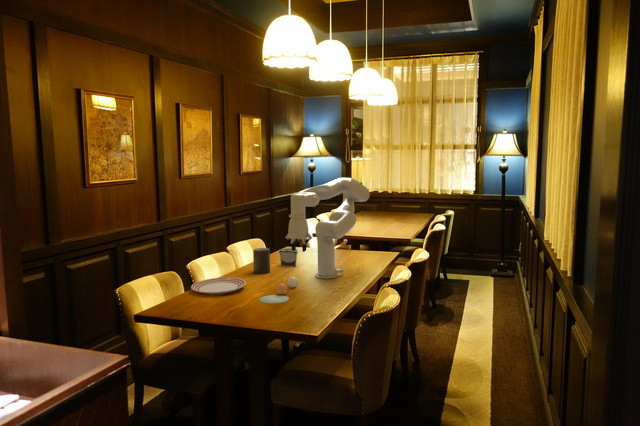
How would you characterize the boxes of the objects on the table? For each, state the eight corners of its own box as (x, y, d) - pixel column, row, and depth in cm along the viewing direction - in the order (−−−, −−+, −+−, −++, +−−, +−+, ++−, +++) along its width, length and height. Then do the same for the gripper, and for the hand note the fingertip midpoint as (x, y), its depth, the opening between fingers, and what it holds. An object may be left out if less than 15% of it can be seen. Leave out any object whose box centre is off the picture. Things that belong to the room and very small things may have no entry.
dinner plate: (220, 300, 240) (219, 293, 239) (179, 292, 254) (179, 286, 254) (256, 287, 263) (256, 281, 262) (217, 281, 277) (217, 275, 277)
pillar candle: (267, 274, 290) (266, 248, 289) (251, 273, 292) (250, 248, 291) (272, 270, 300) (271, 245, 298) (256, 270, 302) (256, 245, 300)
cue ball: (297, 285, 264) (296, 275, 263) (299, 288, 258) (298, 277, 258) (286, 286, 262) (286, 276, 262) (288, 289, 257) (288, 278, 256)
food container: (301, 264, 315) (300, 248, 314) (297, 266, 309) (297, 250, 308) (283, 263, 319) (282, 248, 318) (279, 265, 313) (278, 249, 312)
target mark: (286, 294, 247) (286, 294, 247) (291, 302, 233) (291, 301, 233) (257, 296, 244) (257, 296, 244) (260, 304, 230) (260, 304, 230)
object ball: (286, 292, 250) (286, 281, 250) (288, 295, 245) (288, 284, 244) (275, 293, 249) (275, 282, 249) (277, 296, 244) (276, 285, 243)
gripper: (280, 217, 265) (281, 251, 267) (311, 218, 259) (311, 253, 261) (286, 215, 272) (287, 249, 274) (316, 216, 266) (316, 250, 268)
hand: (299, 250), depth 267 cm, fingers open, 5 cm apart
